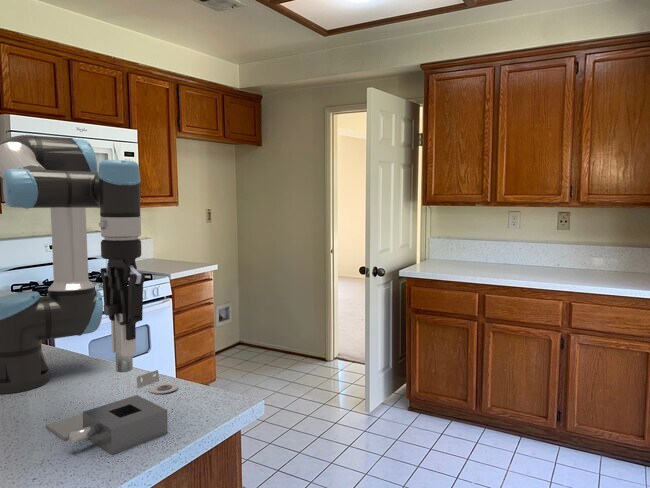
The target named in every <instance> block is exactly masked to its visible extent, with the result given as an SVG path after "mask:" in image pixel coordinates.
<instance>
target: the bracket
mask: <svg viewBox="0 0 650 488" xmlns="http://www.w3.org/2000/svg"><path fill="white" fill-rule="evenodd" d="M154 375H155V376H154ZM159 375H160V374H159V369H155V370H153V371H150V372H146V373H145V374H140V375H137V377H136V385H137V386H136V388H137V389H139V388H140V387H141V388H143V386H144V387H146V386H149V385H151V384H154V383H157V382H160V379H159V378H160V376H159ZM141 378H142V381H141ZM152 387H153V388H151V387H149V388H147V389H146V390H145V389H143V391H144V392H147V391H148V392H147V393H150V392H151V393H150V394H155V395H156V394H157V395H161V394H168V393H172V392H174V391H176V390H178V388H179V386H178V385H177V384H174V383H173V384H172V383H168V382H162V383H159V384H156V385H154V386H152ZM141 388H140V389H141Z"/></svg>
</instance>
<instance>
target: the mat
mask: <svg viewBox="0 0 650 488" xmlns="http://www.w3.org/2000/svg"><path fill="white" fill-rule="evenodd" d="M45 426H46V427H45V428H47V429H48V430H49V431H51V432H52V433H53V434H54V435H56V436H57V437H58V438H61V439H62V440H63V441H67V440H68V441H69V438H68V435H69V433H70V432H73V431H76V430H79V429H82V428H83V412H82V413H79V414H75V415H72V416H70V417H66V418H65V417H64V418H63V419H60V420H57V421H54V422H50V423H47V424H45Z"/></svg>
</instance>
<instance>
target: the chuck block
mask: <svg viewBox="0 0 650 488" xmlns="http://www.w3.org/2000/svg"><path fill="white" fill-rule="evenodd" d="M82 413H83V428H82V429H79V430H76V431H73V432H70V433H69V435H68V438H69V439H68V441H69V443H70V444H73V443H77V442H81V441H83V440H86V439H88V440H90V441H91V442H92V443H94V444H95V445H96V446H99V447H100V448H101V449H103V450H104V451H106V452H107V453H109V454H110V455H115V454H117V453H120V452H122V451H125V450H128V449H131V448H133V447H136V446H138V445H141V444H143V443H146V442H149V441H151V440H153V439H156V438H158V437H161V436H164V435H165V434H168V429H169V427H168V426H169V425H168V409H167V408H164V407H162V406H160V405H158V404H156V403H154V402H152V401H150V400H148V399H146V398H144V397H142V396H140V395H138V394H136V395H133V396H129V397H126V398H123V399H120V400H117V401H114V402H110V403H107V404H106V403H105V404H104V405H100V406H97V407H94V408H90V409H86V410H84V411H82Z"/></svg>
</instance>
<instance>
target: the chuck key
mask: <svg viewBox="0 0 650 488" xmlns="http://www.w3.org/2000/svg"><path fill="white" fill-rule="evenodd" d="M103 314H104V315H105V316H106V315H107V316H108V317H109V315H115V371H116V372H117V373H129V372H131V371H133V369H134V367H133V366H134V365H133V360H134V359H133V355H129V356H125V357H123V356H122V354H121V325H120V322H123V315H122V305H121V303H115V304H109V305H104V304H103Z"/></svg>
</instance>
